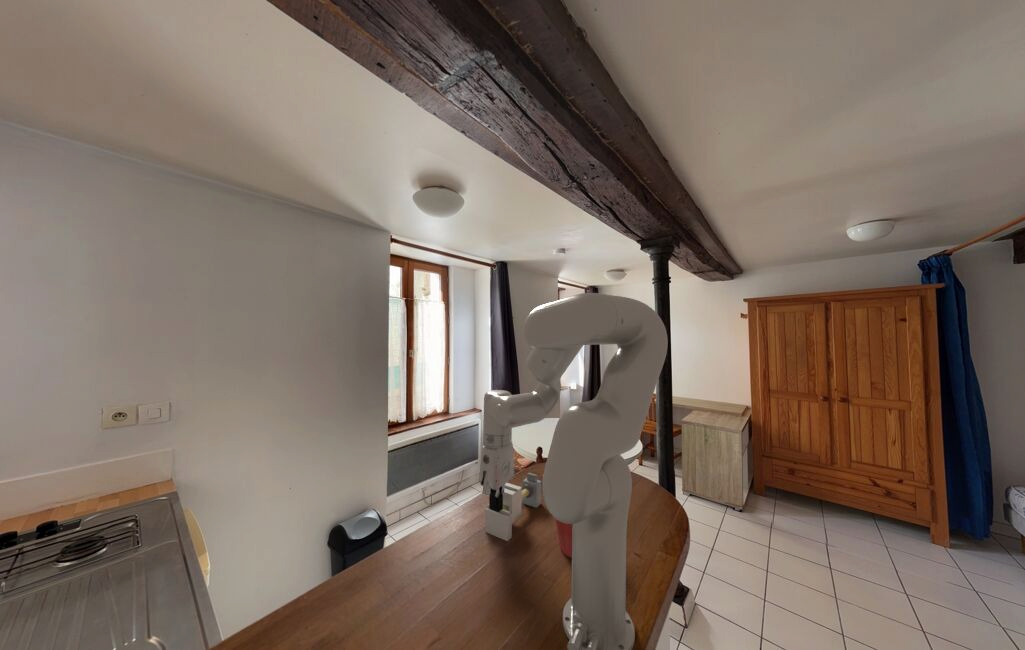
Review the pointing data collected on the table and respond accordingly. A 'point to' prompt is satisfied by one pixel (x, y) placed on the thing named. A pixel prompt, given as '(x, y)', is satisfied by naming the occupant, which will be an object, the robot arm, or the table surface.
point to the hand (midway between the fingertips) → (495, 509)
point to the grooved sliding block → (513, 499)
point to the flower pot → (565, 537)
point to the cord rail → (502, 520)
